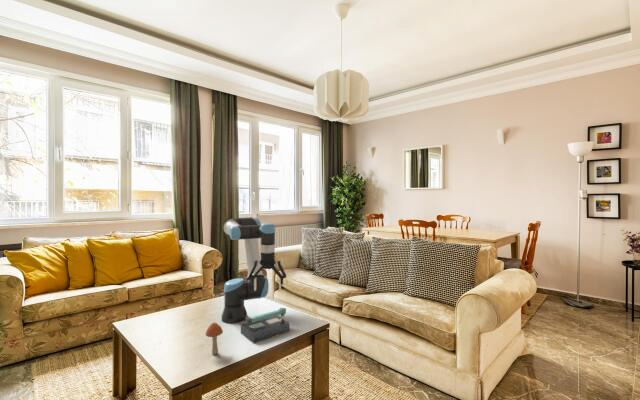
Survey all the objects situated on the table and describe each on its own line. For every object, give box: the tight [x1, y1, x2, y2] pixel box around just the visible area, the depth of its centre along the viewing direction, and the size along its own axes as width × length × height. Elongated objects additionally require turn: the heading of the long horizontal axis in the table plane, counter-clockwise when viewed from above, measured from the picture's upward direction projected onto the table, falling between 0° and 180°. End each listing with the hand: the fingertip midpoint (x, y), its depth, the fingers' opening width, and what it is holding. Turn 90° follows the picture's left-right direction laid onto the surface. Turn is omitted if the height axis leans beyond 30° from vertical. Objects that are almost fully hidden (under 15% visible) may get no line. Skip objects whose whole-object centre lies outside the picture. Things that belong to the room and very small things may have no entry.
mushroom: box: [205, 322, 224, 355], centre depth 155 cm, size 8×8×15 cm
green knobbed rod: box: [244, 307, 287, 325], centre depth 179 cm, size 24×4×3 cm, turn 128°
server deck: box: [240, 314, 291, 344], centre depth 179 cm, size 15×23×8 cm, turn 128°
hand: (267, 290), depth 178 cm, fingers open, 13 cm apart
